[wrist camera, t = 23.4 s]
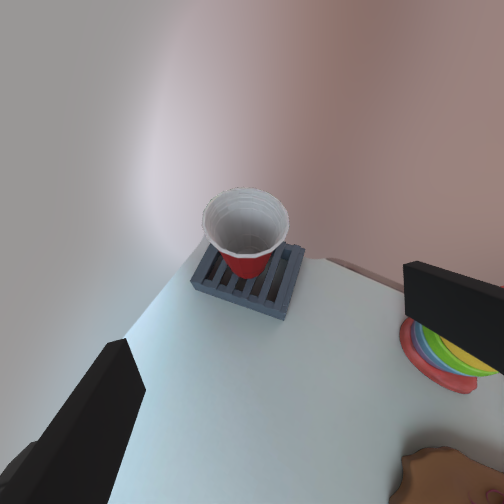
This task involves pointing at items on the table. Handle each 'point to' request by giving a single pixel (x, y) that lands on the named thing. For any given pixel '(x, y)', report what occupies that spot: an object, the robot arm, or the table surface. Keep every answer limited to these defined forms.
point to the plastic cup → (245, 228)
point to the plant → (447, 479)
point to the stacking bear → (441, 358)
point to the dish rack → (252, 281)
